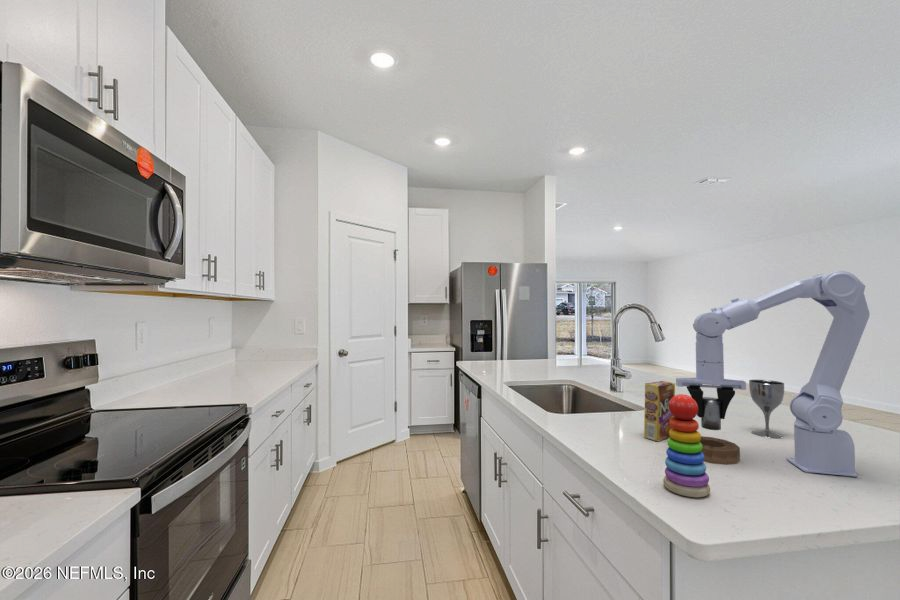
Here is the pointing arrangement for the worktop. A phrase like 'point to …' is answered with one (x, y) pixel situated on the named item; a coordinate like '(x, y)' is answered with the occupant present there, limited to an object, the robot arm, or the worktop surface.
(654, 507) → the worktop surface
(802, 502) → the worktop surface
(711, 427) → the steel peg
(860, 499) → the worktop surface
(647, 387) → the candy box
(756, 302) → the robot arm
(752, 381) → the wine glass
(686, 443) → the stacking toy
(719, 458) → the walnut bead
